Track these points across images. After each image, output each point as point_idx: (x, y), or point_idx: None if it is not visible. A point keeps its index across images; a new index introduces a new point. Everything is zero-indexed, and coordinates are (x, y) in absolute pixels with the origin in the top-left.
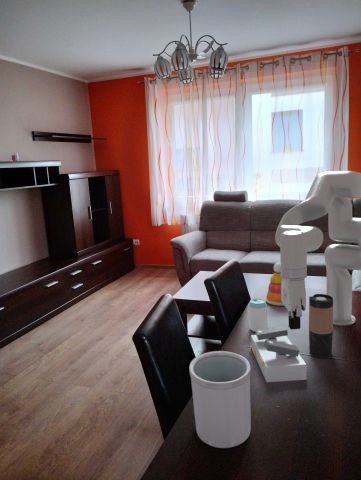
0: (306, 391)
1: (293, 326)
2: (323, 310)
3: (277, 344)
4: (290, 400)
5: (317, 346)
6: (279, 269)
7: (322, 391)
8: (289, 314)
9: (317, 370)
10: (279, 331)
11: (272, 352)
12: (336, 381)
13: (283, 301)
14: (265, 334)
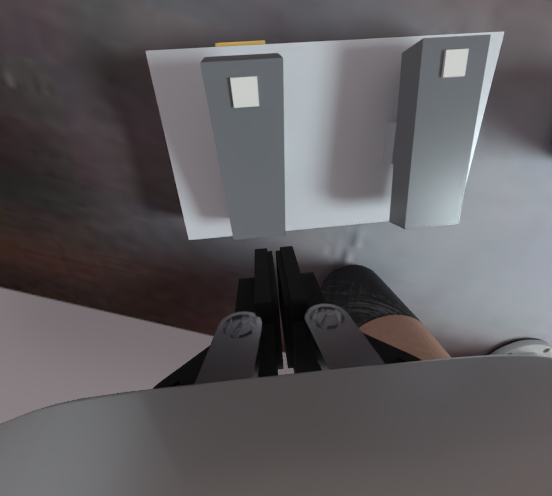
0: (130, 203)
1: (240, 280)
2: None
3: (242, 138)
4: (62, 138)
5: (335, 300)
6: None
7: (139, 248)
8: (304, 315)
9: (253, 261)
10: (408, 186)
11: (294, 119)
12: (196, 293)
13: (447, 433)
14: (414, 97)
